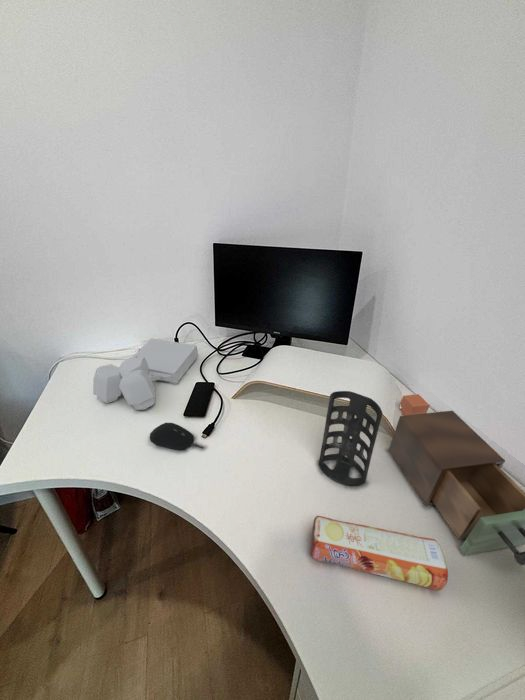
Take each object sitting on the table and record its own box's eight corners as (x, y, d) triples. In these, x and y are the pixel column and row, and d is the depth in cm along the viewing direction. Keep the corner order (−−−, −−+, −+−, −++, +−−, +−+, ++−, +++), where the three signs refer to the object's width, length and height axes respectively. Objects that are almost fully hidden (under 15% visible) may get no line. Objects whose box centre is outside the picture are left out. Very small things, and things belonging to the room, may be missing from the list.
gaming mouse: (196, 457, 71) (195, 446, 69) (145, 442, 75) (142, 431, 73) (208, 439, 76) (207, 427, 74) (160, 425, 80) (157, 414, 78)
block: (414, 407, 88) (418, 394, 85) (424, 418, 84) (429, 405, 81) (398, 408, 87) (403, 395, 85) (408, 420, 83) (413, 407, 80)
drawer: (550, 574, 50) (582, 544, 45) (486, 587, 48) (512, 557, 43) (469, 480, 65) (486, 450, 60) (418, 487, 64) (432, 457, 59)
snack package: (308, 564, 51) (312, 543, 48) (311, 526, 57) (315, 506, 54) (440, 598, 47) (454, 579, 44) (429, 554, 53) (441, 534, 50)
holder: (314, 475, 66) (327, 403, 58) (319, 453, 73) (332, 385, 65) (364, 492, 63) (386, 417, 55) (365, 467, 70) (385, 397, 61)
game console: (200, 355, 109) (194, 326, 101) (151, 420, 84) (139, 388, 77) (153, 347, 113) (145, 319, 106) (94, 407, 89) (77, 375, 81)
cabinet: (482, 497, 63) (505, 460, 57) (424, 505, 61) (442, 469, 55) (437, 444, 75) (452, 410, 69) (388, 450, 73) (399, 415, 68)
